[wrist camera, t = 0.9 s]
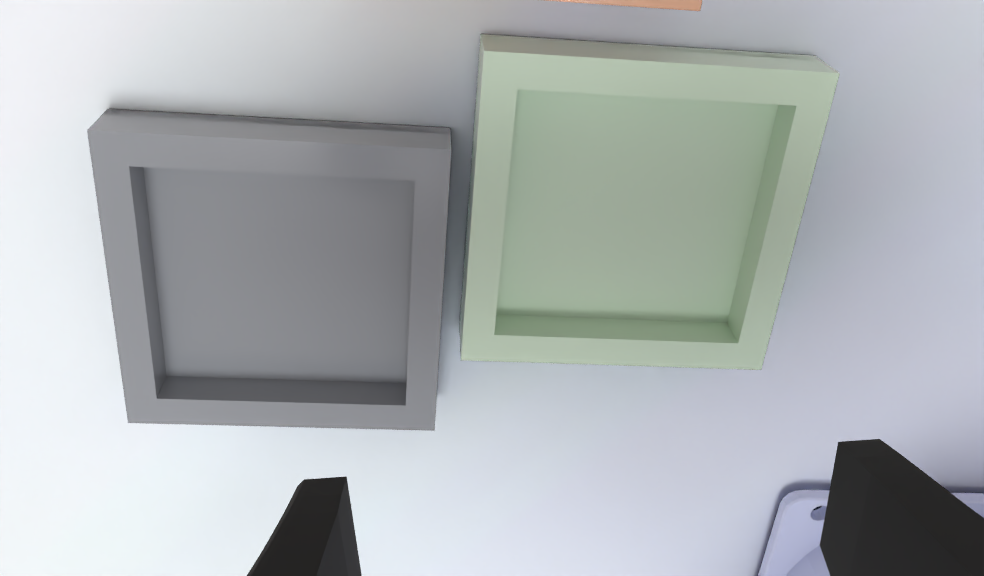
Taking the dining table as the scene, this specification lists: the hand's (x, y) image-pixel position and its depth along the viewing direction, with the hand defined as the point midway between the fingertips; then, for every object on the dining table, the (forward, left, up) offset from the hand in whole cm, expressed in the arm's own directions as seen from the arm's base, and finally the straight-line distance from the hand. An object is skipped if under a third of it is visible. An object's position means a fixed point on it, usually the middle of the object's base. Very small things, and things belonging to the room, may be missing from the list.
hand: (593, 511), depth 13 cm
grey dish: (+6, +1, -8) cm, 10 cm away
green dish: (-2, -1, -8) cm, 9 cm away
